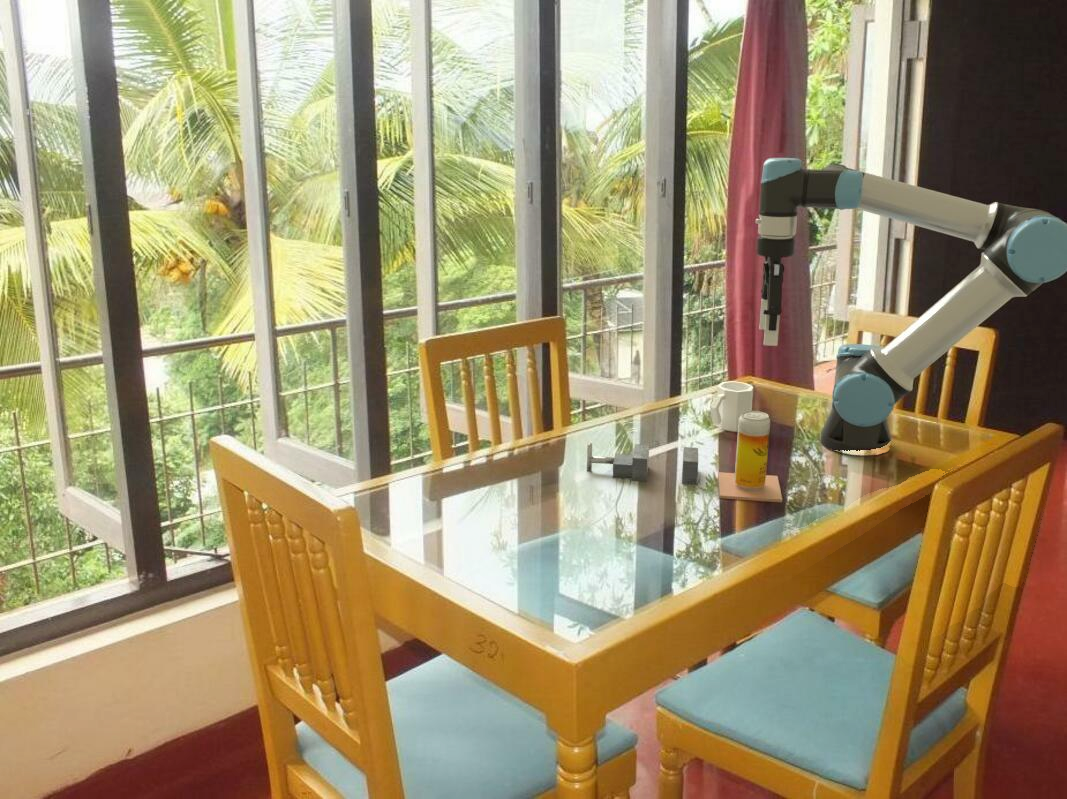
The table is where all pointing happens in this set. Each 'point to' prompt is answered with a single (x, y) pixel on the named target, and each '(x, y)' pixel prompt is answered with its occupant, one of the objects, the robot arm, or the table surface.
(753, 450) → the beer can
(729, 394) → the mug
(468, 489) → the table surface
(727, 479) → the coaster
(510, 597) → the table surface
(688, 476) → the vise
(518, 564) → the table surface
